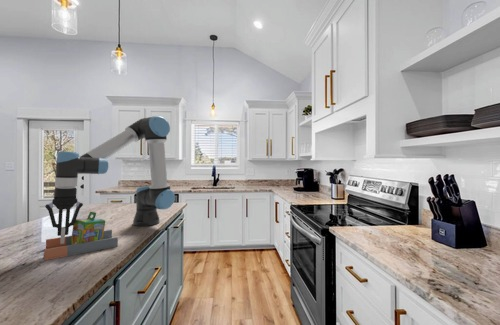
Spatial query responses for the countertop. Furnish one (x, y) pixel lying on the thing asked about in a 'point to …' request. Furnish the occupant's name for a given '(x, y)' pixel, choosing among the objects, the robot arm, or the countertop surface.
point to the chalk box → (87, 229)
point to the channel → (77, 246)
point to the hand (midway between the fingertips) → (62, 242)
